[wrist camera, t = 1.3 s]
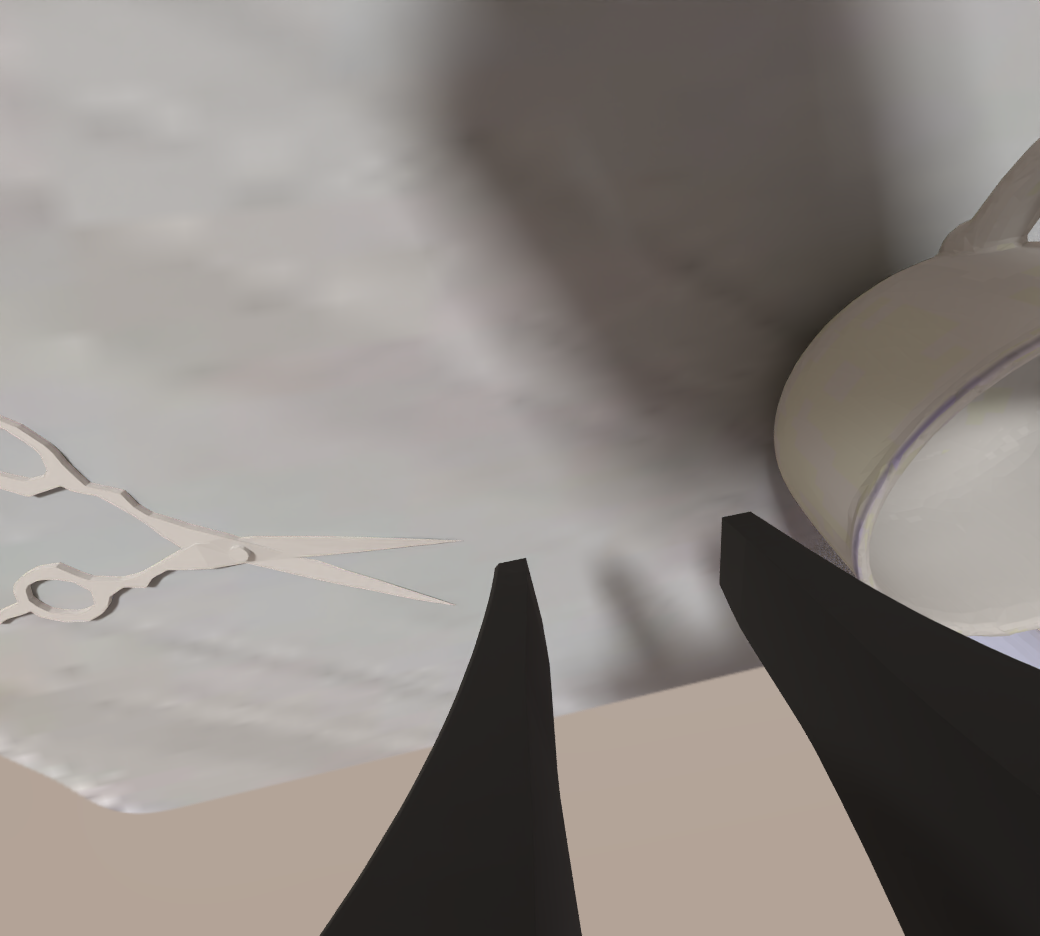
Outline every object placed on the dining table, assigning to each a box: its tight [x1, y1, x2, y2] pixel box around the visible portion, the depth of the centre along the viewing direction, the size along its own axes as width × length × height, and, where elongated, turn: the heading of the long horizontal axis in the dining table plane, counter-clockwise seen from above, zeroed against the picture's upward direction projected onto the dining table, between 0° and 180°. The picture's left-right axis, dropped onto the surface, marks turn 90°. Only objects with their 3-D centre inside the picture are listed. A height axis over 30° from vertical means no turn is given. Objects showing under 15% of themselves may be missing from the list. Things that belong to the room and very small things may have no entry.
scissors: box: [0, 415, 462, 624], centre depth 20 cm, size 11×1×20 cm
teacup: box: [774, 138, 1040, 637], centre depth 14 cm, size 14×11×8 cm
